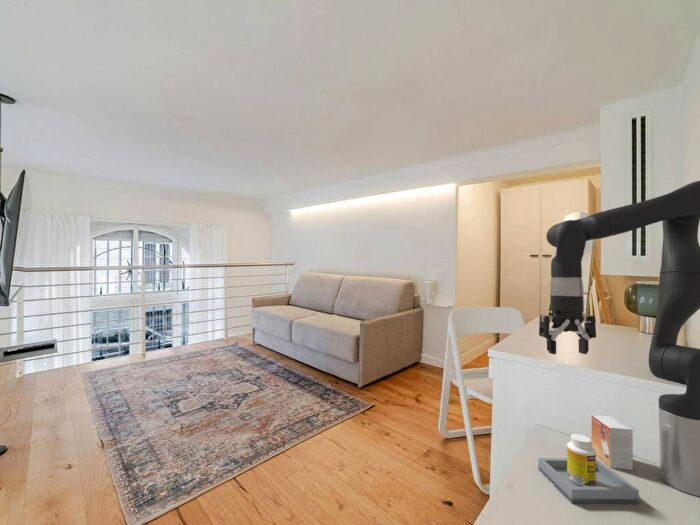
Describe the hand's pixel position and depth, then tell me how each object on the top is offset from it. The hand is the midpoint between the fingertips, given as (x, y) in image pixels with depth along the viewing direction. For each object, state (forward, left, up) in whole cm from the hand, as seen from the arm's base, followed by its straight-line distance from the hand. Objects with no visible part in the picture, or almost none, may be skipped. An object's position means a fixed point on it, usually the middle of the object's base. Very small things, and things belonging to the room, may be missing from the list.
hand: (567, 353), depth 86 cm
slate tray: (+3, +9, -29) cm, 31 cm away
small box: (-13, -1, -29) cm, 32 cm away
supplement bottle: (+4, +9, -28) cm, 30 cm away
